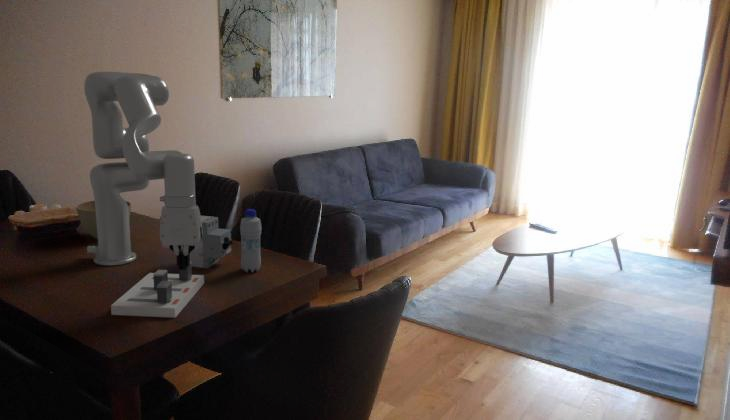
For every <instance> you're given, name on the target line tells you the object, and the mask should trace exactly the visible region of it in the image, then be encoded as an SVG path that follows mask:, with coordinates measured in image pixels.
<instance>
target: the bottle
mask: <svg viewBox="0 0 730 420" xmlns="http://www.w3.org/2000/svg"><path fill="white" fill-rule="evenodd" d="M244 216H245V217H242V218H241V219H240V226H239V231H240V233H239V234H240V241H241V243H240V244H241V245H240V246H241V247H240V249H241V252H240V253H241V255H240V268H241V270H242V271H243V272H245V273H249V271H250V273H254V272H259V270H260V269H261V265H262V257H261V255H262V254H261V235H262V231H263V230H262V228H263V227H262V222H261V219H260V218H258V217H257V211H256V210H255V209H253V208H247V209H246V210H245V212H244Z"/></svg>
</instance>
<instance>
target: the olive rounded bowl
mask: <svg viewBox="0 0 730 420" xmlns="http://www.w3.org/2000/svg"><path fill="white" fill-rule="evenodd" d="M125 201H126V203H127V205H128V208H129V218H130V217H131V212H132V203H131V202H130V201H127V200H125ZM75 207H76V213H77V216H78V219H79V221H80V224H81V225H82V227H83V228H84V229H85V230H86V232H87V234H89V235H90V236H91V237H92V238H93V239H95V240H98V236H97V222H96V209H95V200H90V201H85V202H84V201H83V202H80V203H79V204H76V206H75Z"/></svg>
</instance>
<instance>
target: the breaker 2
mask: <svg viewBox="0 0 730 420" xmlns="http://www.w3.org/2000/svg"><path fill="white" fill-rule="evenodd" d="M192 269H193V266H192V261H190V265H189V266H188V268H187V269H186V270H179V269H178V274H179V280H187V281H188V280H189V279H190V278H191V277H192V275H193V271H192Z"/></svg>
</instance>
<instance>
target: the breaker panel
mask: <svg viewBox="0 0 730 420" xmlns="http://www.w3.org/2000/svg"><path fill="white" fill-rule="evenodd" d="M154 273H155V272H149V273H147V274H146V275H145V276H144V277H142V279H141V280H139V281H138V282H137V283H136V284H135V285H133V286H132V287H131V288H130V289H128V290H127V291H126V292H125V293H124V294H123V295H121V296H120V297H119V298H118V299H117V300H116V301H114V302H113V303H112V304H110V310H111V316H128V317H129V316H130V317H131V316H132V317H150V318H151V317H152V318H153V317H155V318H177V316H178V315H179V314H180V312H182V311H183V309H184V308H185V307H186V306H187V305H188V303H189V302H190V301H191V300H192V299H193V297H194V296H195V294H197V292H198V291H200V289H201V288H202V287H203V285H204V284H205V274H204V275H203V274H192V277H191V278H190V279H189V280H188V281H187V280H179V273H168V281H171V283H172V298H171V299H170V300H169V301H168V302H167V303H158V302H157V290H154V277H153V274H154Z"/></svg>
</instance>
